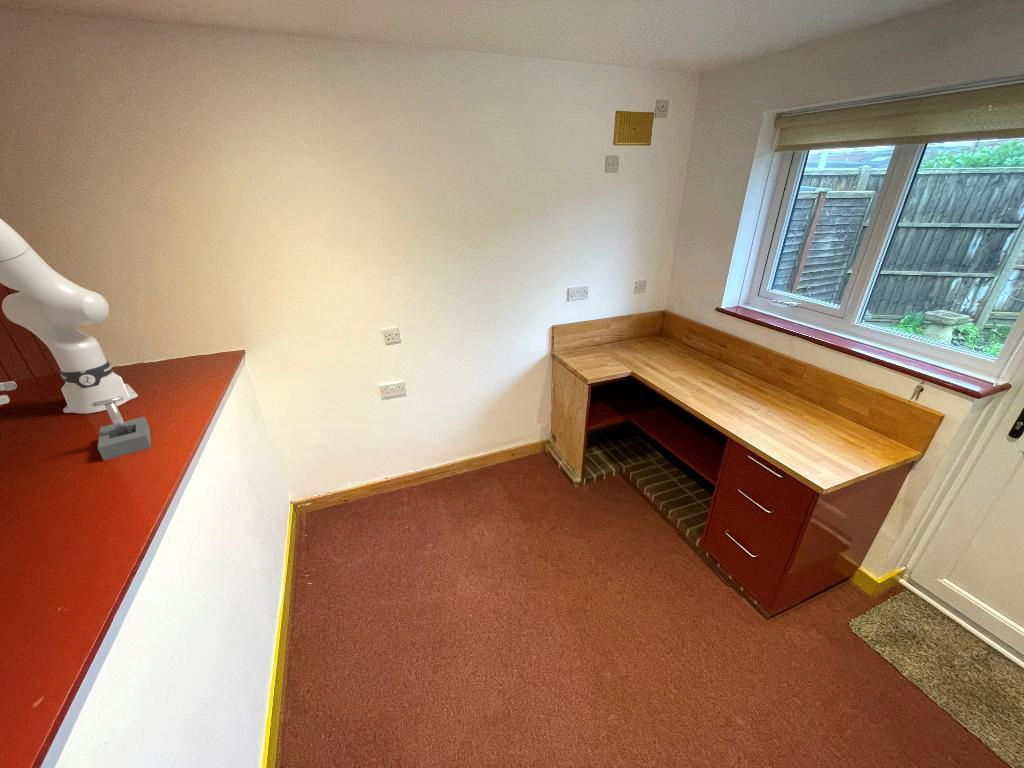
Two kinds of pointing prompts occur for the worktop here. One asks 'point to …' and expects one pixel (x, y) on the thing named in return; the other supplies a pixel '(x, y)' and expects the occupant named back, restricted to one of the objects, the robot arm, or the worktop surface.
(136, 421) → the grey block with hole
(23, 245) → the robot arm
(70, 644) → the worktop surface
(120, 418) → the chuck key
